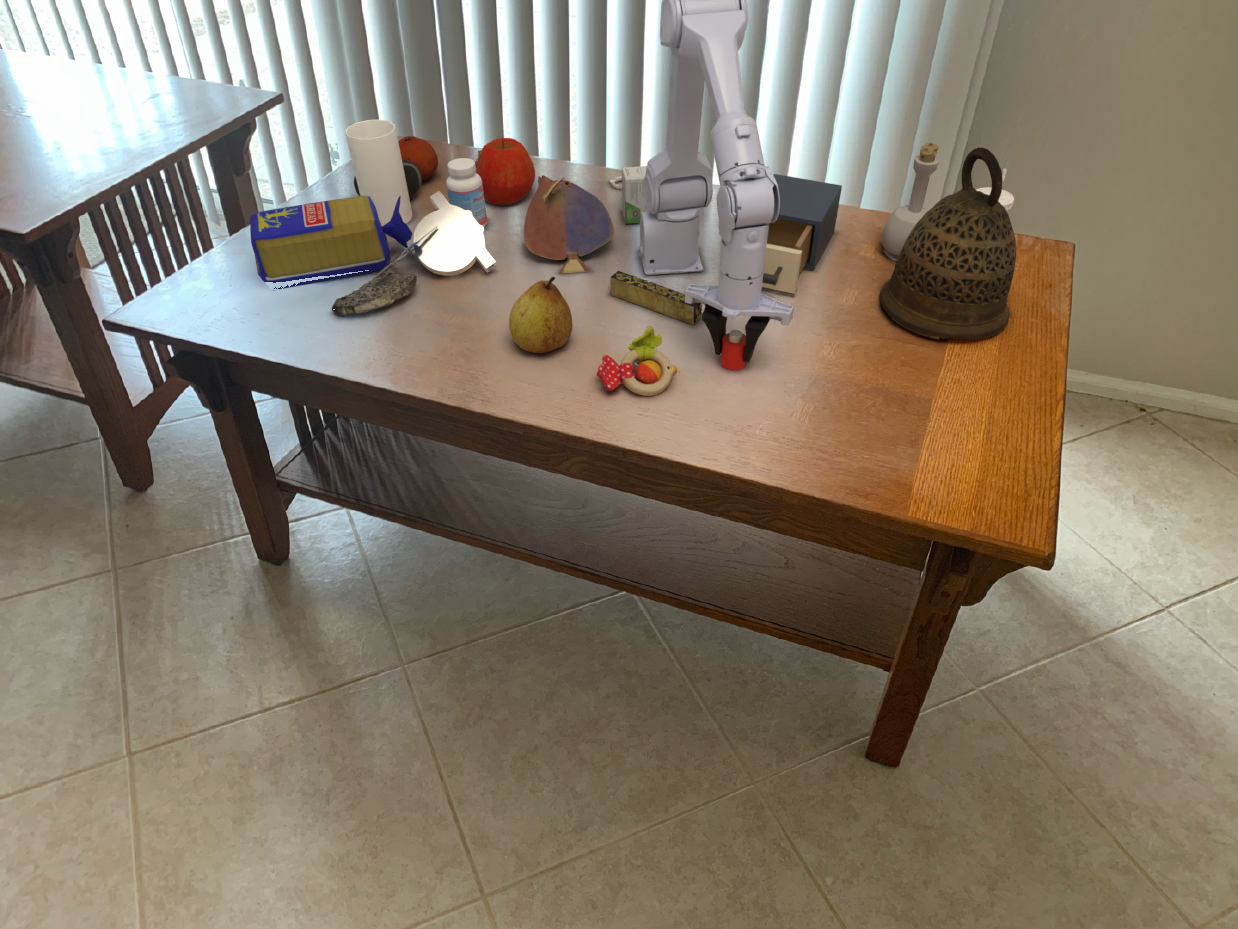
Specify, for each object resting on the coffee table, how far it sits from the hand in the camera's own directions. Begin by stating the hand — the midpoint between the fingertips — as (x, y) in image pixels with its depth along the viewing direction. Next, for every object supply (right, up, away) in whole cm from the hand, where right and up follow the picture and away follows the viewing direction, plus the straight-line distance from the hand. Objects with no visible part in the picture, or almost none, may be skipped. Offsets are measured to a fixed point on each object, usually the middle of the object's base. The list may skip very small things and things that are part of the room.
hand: (733, 354), depth 120 cm
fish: (-24, +21, +26) cm, 41 cm away
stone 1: (-54, +14, +12) cm, 57 cm away
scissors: (-51, +17, +17) cm, 56 cm away
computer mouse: (-59, +37, +38) cm, 79 cm away
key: (-13, +35, +40) cm, 55 cm away
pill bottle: (-42, +27, +32) cm, 59 cm away
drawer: (+8, +15, +16) cm, 23 cm away
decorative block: (-10, +9, +12) cm, 18 cm away
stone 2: (-43, +44, +42) cm, 74 cm away
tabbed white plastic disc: (-40, +23, +22) cm, 51 cm away
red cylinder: (0, -1, +1) cm, 1 cm away
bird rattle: (-10, -5, -5) cm, 12 cm away
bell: (+33, +8, +10) cm, 35 cm away
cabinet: (+13, +22, +25) cm, 35 cm away
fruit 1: (-55, +39, +46) cm, 82 cm away
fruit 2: (-27, +2, +5) cm, 28 cm away
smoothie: (+43, +20, +22) cm, 53 cm away
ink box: (-15, +31, +30) cm, 46 cm away
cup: (-57, +29, +34) cm, 73 cm away
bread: (-64, +17, +25) cm, 71 cm away
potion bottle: (+31, +20, +22) cm, 43 cm away
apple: (-37, +34, +39) cm, 63 cm away
